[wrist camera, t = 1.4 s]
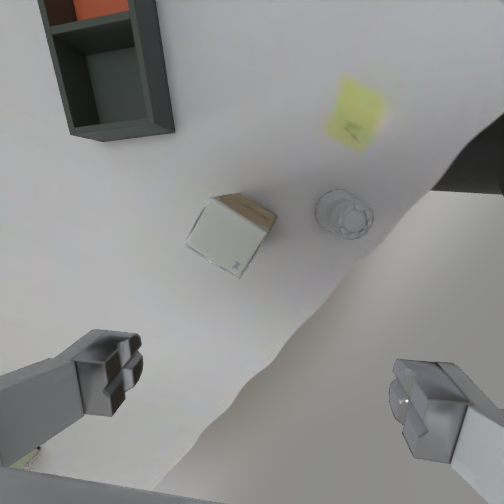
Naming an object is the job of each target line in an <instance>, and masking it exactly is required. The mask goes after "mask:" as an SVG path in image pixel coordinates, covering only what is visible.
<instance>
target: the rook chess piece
mask: <svg viewBox="0 0 504 504" xmlns="http://www.w3.org/2000/svg"><path fill="white" fill-rule="evenodd" d="M315 213H316V217H317V221H318V222H319V224H320V225H321V226H322V227H323V228H325V229H326V230H328V231H330V232H335V233H336V234H337V235H338V236H340V237H342V238H344V239H349V240H353V239H358V238H361V237H362V236H364V235H365V234H367V232H368V231H369V230H370V228H371V227H372V223H373V219H374V218H373V212H372V210H371V208H370V207H369V206H368V204H366V203H364V202H363V201H361V200H357V198H356V197H355V196H354V195H353V194H351V193H349V192H347V191H345V190H334V191H330V192H328V193H326V194H325V195H324V196H322V197H321V199H320V200H319V202H318V204H317V207H316V212H315Z"/></svg>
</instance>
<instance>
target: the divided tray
mask: <svg viewBox="0 0 504 504" xmlns="http://www.w3.org/2000/svg"><path fill="white" fill-rule="evenodd" d="M37 1H38V5H39V9H40V13H41V17H42V21H43V25H44V29H45V33H46V37H47V41H48V46H49V50H50V54H51V58H52V62H53V66H54V70H55V74H56V78H57V82H58V86H59V90H60V95H61V99H62V103H63V107H64V111H65V115H66V119H67V123H68V127H69V131H70V135H73V136H78V137H83V138H87V139H92V140H96V141H101V142H105V141H113V140H121V139H129V138H137V137H144V136H152V135H160V134H168V133H175V129H174V123H173V116H172V109H171V103H170V96H169V89H168V83H167V76H166V69H165V63H164V56H163V49H162V43H161V36H160V29H159V23H158V16H157V9H156V3H155V0H37Z"/></svg>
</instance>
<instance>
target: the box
mask: <svg viewBox="0 0 504 504" xmlns="http://www.w3.org/2000/svg"><path fill="white" fill-rule="evenodd" d="M276 218H277V216H276V215H275V214H273V213H272V212H270V211H269V210H267V209H265V208H264V207H262V206H261V205H259V204H258V203H256V202H254V201H253V200H251V199H250V198H248V197H246V196H245V195H243V194H242V193H236V194H229V195H223V196H217V197H210V198H209V199H208V201H207V203H206V204H205V206H204V208H203V210H202V211H201V213H200V215H199V216H198V218H197V220H196V222H195V223H194V225H193V227H192V229H191V230H190V232H189V234H188V236H187V238H186V240H185V242H184V245H185V246H186V247H187V248H189V249H191V250H192V251H194V252H195V253H197V254H198V255H200V256H201V257H203V258H204V259H206V260H208V261H209V262H211V263H212V264H214V265H216V266H217V267H219V268H221V269H222V270H224V271H226V272H227V273H229V274H231V275H232V276H234V277H236V278H237V279H240V278H241V277H242V275H243V274H244V272H245V271H246V269H247V268H248V266H249V265H250V263H251V261H252V260H253V258H254V257H255V255H256V253H257V252H258V250H259V248H260V247H261V245H262V243H263V242H264V240H265V238H266V237H267V235H268V233H269V231H270V229H271V227H272V225H273V223H274V221H275V219H276Z"/></svg>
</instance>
